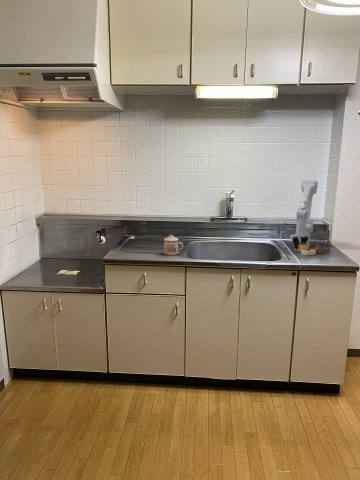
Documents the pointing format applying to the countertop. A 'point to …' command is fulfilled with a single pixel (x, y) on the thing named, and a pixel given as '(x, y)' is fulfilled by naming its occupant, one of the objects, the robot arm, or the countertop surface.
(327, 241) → the countertop surface
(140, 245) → the countertop surface
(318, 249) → the tray
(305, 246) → the yellow rectangular block
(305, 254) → the bay
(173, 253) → the teacup with lid
